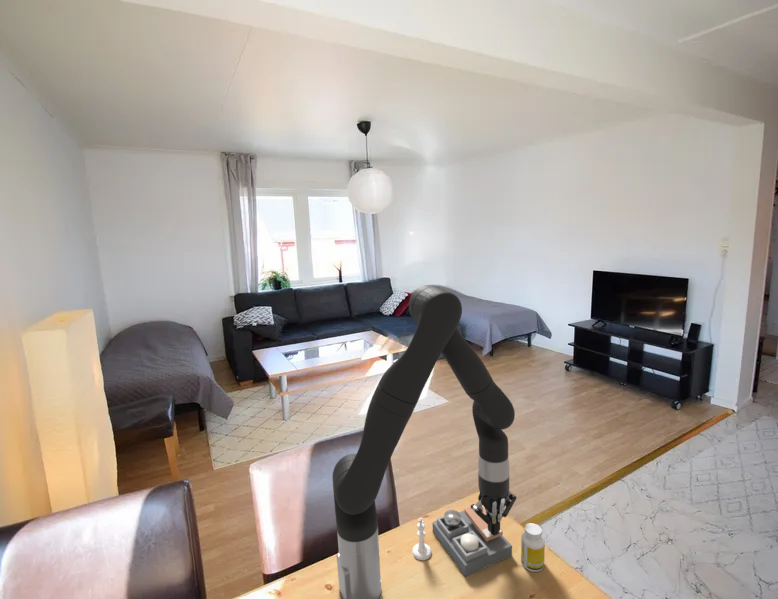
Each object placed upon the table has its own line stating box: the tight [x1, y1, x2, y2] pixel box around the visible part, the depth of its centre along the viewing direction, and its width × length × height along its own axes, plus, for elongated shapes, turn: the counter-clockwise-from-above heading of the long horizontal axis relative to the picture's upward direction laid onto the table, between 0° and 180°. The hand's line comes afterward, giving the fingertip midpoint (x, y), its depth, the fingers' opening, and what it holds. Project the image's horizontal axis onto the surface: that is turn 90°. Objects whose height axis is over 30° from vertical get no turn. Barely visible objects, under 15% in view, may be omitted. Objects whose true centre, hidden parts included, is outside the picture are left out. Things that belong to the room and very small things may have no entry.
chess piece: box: [412, 517, 432, 561], centre depth 104 cm, size 5×5×10 cm
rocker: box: [464, 506, 504, 542], centre depth 108 cm, size 5×10×1 cm, turn 23°
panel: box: [431, 509, 513, 577], centre depth 107 cm, size 14×16×4 cm
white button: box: [461, 534, 479, 553], centre depth 101 cm, size 4×4×2 cm
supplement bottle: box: [520, 522, 546, 573], centre depth 99 cm, size 5×5×10 cm
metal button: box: [443, 509, 461, 528], centre depth 108 cm, size 4×4×2 cm
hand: (494, 532), depth 103 cm, fingers closed
